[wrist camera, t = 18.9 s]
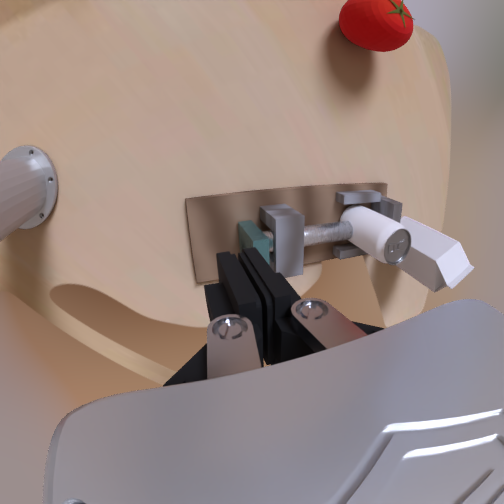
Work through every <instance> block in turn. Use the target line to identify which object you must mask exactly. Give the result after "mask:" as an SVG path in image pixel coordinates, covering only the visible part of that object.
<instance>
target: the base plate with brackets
mask: <svg viewBox="0 0 504 504" xmlns="http://www.w3.org/2000/svg"><path fill="white" fill-rule="evenodd" d="M352 205H361V206H364V207H366V208H368V209H371V210H373V211H375V212H377V213H380V214H382V215H384V216H386V217H388V218H390V219H392V220H394V221H396V222H398V223H400V220H401V212H402V203H400V202H397V201H395V200H392V199H390V198H387V184H386V183H355V184H333V185H316V186H301V187H288V188H276V189H265V190H254V191H245V192H235V193H226V194H218V195H210V196H202V197H194V198H187V199H186V207H187V216H188V224H189V232H190V239H191V246H192V254H193V261H194V267H195V274H196V280H197V283H199V282H205V281H211V280H217V279H219V277H218V268H217V259H216V253H220V252H226V251H229V252H230V253H231V254H235V255H236V257H237V259H238V253H240V246H239V231H238V222H241V221H248V220H252V221H253V222H254V224H255V225H256V226H257V227H258V228H259V229H260V230H261V231H262V232H263V231H270V230H272V231H273V252H269V263H270V267H271V268H272V270H273V271H274V272H275V273H277V272H280V273H281V274H282V275H283V276H284V278H287V277H292V276H297V275H302V274H303V264H308V263H313V262H318V261H323V260H329V259H334V258H339V259H345V258H350V257H355V256H360V255H365V254H368V253H366V252H365V251H363V250H362V249H360V248H359V247H357V246H356V245H354V244H353V243H351V242H350V241H348V240H342V241H335V242H329V243H323V244H317V245H311V246H304V226H308V225H315V224H323V223H331V222H339V221H340V218H341V215H342V214H343V212H344V211H345V210H346V209H347V208H348V207H350V206H352Z"/></svg>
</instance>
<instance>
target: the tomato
mask: <svg viewBox="0 0 504 504" xmlns="http://www.w3.org/2000/svg"><path fill="white" fill-rule="evenodd" d="M412 19H413V18H412V16H411V14H410V12H409V11H408V9H407V7H406V6H405V5H404V4H403V0H402V1H401V0H348V1H347V2H346V3H345V5H344V6H343V7H342V9H341V12H340V14H339V25H340V29H341V31H342V33H343V34H344V36H345V37H346V38H347V39H348V40H349V41H351V42H352V43H354V44H356V45H358V46H360V47H363V48H365V49H368V50H373V51H379V52H386V51H392V50H395V49H397V48H399V47H401V46H403V45H404V44H405V43H406V42H407V41H408V40H409V39H410V37H411V35H412V32H413V20H412Z"/></svg>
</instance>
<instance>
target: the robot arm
mask: <svg viewBox="0 0 504 504" xmlns="http://www.w3.org/2000/svg"><path fill="white" fill-rule="evenodd" d="M33 151H34V153H33ZM52 178H53V181H52ZM57 192H58V182H57V175H56V171H55V168H54V165H53V163H52V161H51V160H50V158H49V157H48V155H47V154H46V153H45V152H43V151H42V150H41V149H39V148H37V147H34V146H20V147H17V148H14V149H13V150H11V151H10V152H8V153H7V154H6V155H5V156H4V158H3V159H2V161H0V241H2V240H3V239H4V238H5V237H7V236H8V235H9V234H11V233H12V232H13V231H15V230H16V229H17V228H19V229H31V228H34V227H36V226H38V225H39V224H41V223H42V222H43V221H44V220H45V219H46V218H47V217H48V216H49V215H50V213H51V211H52V209H53V207H54V205H55V202H56V198H57ZM43 214H44V215H43ZM216 259H217V268H218V277H219V283H215V284H209V285H204V289H205V296H206V302H207V308H208V313H209V318H210V324H209V325H208V328H207V344H205V345H204V347H202V349H200V350H199V351H198V352H197V353H196V354H195V355H194V356H193V357H192V358H191V359H190V360H189V361H188V362H187V363H186V364H185V365H184V366H183V367H182V368H181V369H180V370H179V371H178V372H177V373H176V374H174V375H173V376H172V377H171V378H170V379H169V380H168V381H167V382H166V383H165V384H164V385H163V387H159V388H152V389H145V390H137V391H131V392H126V393H120V394H116V395H111V396H108V397H104V398H101V399H97V400H95V401H93V402H90V403H87V404H85V405H82V406H80V407H78V408H76V409H74V410H73V411H71V412H70V413H68V414H67V415H66V416H65V417H64V418H63V419H62V420H61V421H60V423H59V424H58V425H57V427H56V429H55V431H54V434H53V436H52V440H51V443H50V446H49V450H48V455H47V460H46V467H45V475H44V486H43V504H504V314H502V313H501V312H499V311H498V310H496V309H495V308H494V307H492V306H491V305H489V304H488V303H486V302H484V301H481V300H476V299H463V300H458V301H453V302H450V303H447V304H443V305H441V306H439V307H436V308H434V309H431V310H429V311H426V312H424V313H422V314H419V315H417V316H415V317H412V318H410V319H408V320H405V321H403V322H401V323H398V324H396V325H393V326H391V327H388V328H386V329H384V328H380V327H375V326H371V325H366V324H362V323H357V322H353V321H350V320H349V319H348V318H346V317H345V316H344V315H343V314H341V313H340V312H339V311H338V310H336V309H335V308H334V307H333V306H332V305H330V304H329V303H328V302H326V301H324V300H321V299H317V298H305V299H301V298H300V296H299V295H298V294H297V293H296V291H295V290H294V289H293V288H292V286H291V285H290V284H289V283H288V281H287V280H286V279H285V278H284V276H283V275H282V274H281V273H280V272H277V273H275V272H274V271H273V270H272V268H271V267H270V266H269V264H268V263H267V262H266V260H265V259H264V258H263V256H262V255H261V254H260V252H259V251H258V250H257V249H256V247H252V248H246V249H242V253H238V259H237V257H236V255H235V254H231V253H230V252H229V251H226V252H220V253H216ZM263 358H264V360H265V362H266V364H267V365H269V364H271V366H267V367H264V365H263V364H264V363H263Z"/></svg>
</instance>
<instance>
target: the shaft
mask: <svg viewBox="0 0 504 504" xmlns="http://www.w3.org/2000/svg"><path fill="white" fill-rule="evenodd" d="M238 231H239V246H240V253H242V249H246V248H252V247H256V249H257V250H258V251H259V252H260V254H261V255H262V256H263V258H264V259H265V260H266V262H267V263H268V264H269V266H270V263H269V252H273V231H272V230H270V231H263V232H262V231H261V230H260V229H259V228H258V227H257V226H256V225H255V224H254V222H253V221H252V220H248V221H241V222H238ZM352 236H353V227H352V224H351V223H350V222H349V221H339V222H331V223H323V224H315V225H308V226H304V246H311V245H317V244H323V243H329V242H335V241H342V240H348V239H351V238H352Z"/></svg>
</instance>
